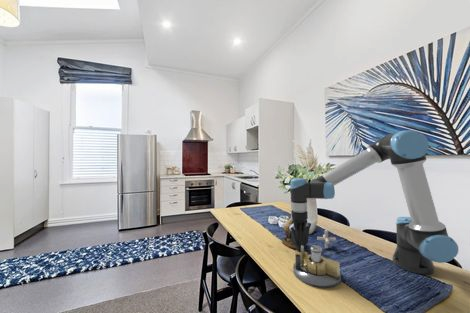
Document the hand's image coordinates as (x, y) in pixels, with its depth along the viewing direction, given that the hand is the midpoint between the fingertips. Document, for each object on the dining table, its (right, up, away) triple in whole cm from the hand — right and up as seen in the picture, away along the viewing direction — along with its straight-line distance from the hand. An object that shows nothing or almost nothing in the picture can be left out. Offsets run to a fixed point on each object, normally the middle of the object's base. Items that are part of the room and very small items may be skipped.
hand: (301, 258), depth 99 cm
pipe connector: (+21, -4, +20) cm, 30 cm away
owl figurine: (+4, -4, +25) cm, 25 cm away
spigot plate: (+5, -4, -6) cm, 9 cm away
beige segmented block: (+5, -1, -6) cm, 8 cm away
